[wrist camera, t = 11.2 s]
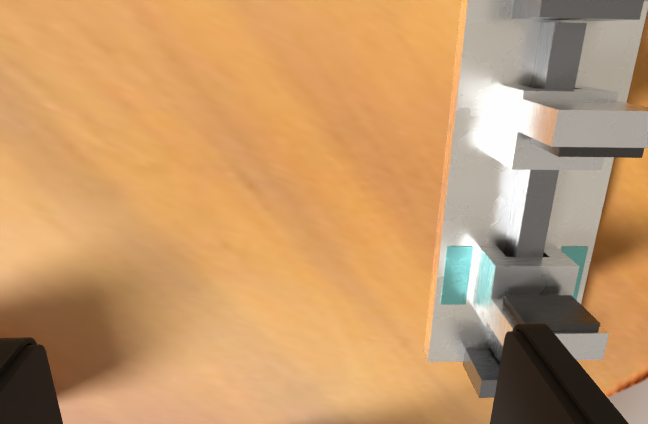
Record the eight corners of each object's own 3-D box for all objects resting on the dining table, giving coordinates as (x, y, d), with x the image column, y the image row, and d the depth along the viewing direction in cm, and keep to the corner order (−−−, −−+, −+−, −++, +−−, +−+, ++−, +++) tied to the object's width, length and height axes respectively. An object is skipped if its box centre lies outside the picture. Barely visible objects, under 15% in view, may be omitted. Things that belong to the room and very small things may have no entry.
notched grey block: (478, 245, 38) (523, 299, 30) (555, 246, 38) (617, 298, 31) (470, 303, 40) (510, 367, 32) (544, 303, 40) (600, 366, 32)
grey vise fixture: (461, -8, 33) (521, -22, 24) (636, -3, 34) (757, -16, 25) (423, 353, 43) (455, 438, 34) (558, 352, 43) (625, 435, 34)
